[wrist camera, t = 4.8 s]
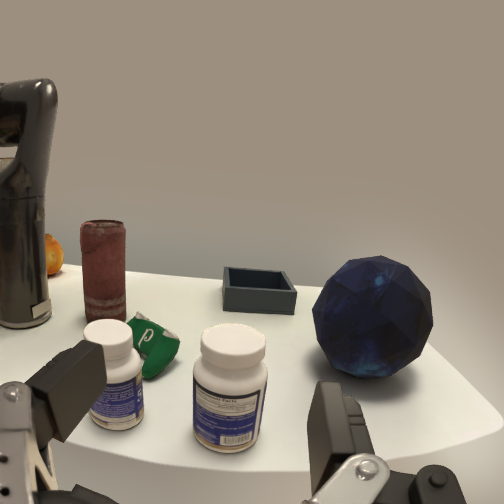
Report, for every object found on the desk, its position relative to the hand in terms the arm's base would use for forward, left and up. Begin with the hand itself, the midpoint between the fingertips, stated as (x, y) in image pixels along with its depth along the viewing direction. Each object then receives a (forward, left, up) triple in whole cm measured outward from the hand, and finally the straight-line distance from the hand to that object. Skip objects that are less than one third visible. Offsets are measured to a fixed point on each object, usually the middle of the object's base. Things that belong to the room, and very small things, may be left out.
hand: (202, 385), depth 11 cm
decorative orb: (+19, +22, -14) cm, 32 cm away
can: (-15, +31, -14) cm, 37 cm away
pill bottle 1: (-8, +12, -14) cm, 20 cm away
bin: (+8, +44, -14) cm, 47 cm away
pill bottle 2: (+2, +11, -14) cm, 18 cm away
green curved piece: (-7, +23, -14) cm, 28 cm away
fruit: (-35, +44, -13) cm, 58 cm away
